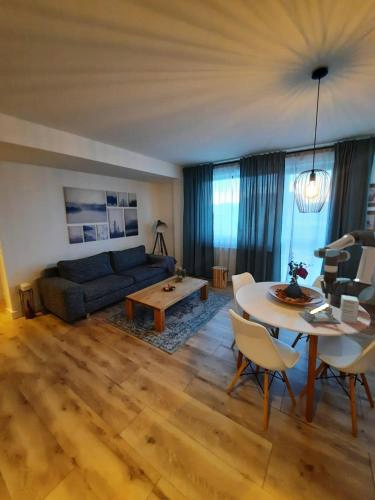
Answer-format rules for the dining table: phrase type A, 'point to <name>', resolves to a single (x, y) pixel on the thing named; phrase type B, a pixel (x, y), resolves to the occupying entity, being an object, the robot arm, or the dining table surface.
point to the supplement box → (349, 309)
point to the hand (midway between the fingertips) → (327, 302)
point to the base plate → (318, 316)
